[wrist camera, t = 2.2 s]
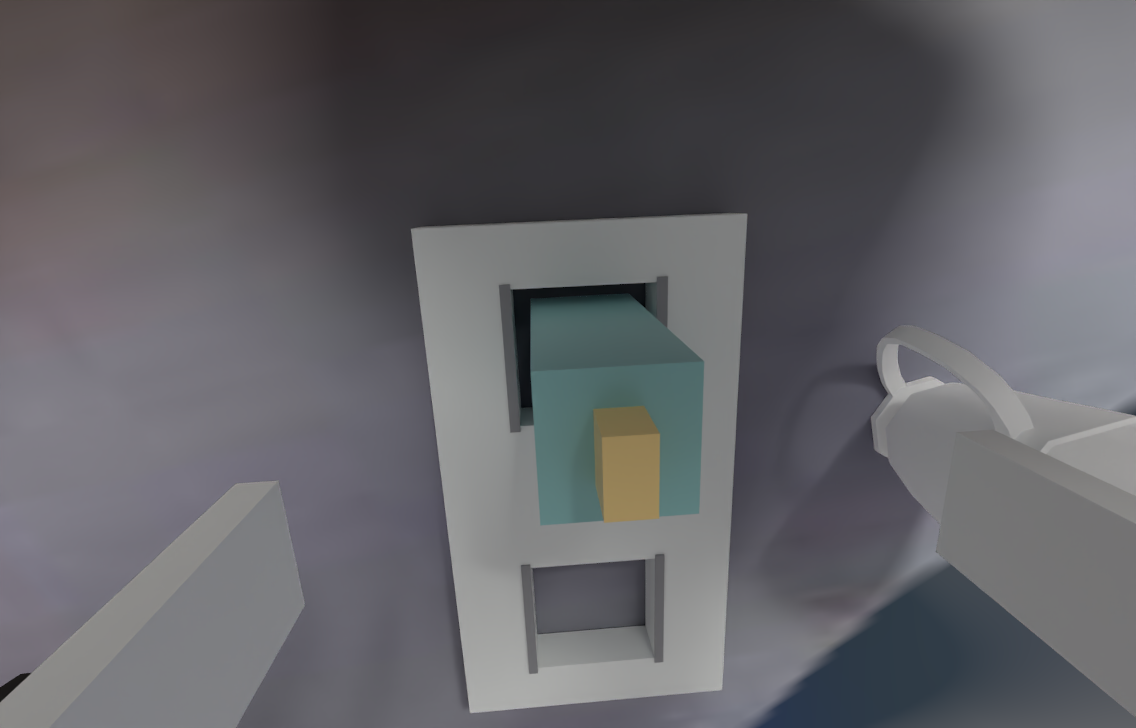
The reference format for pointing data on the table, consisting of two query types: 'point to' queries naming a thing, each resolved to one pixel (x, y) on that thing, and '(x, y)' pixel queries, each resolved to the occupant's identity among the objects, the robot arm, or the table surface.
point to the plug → (613, 412)
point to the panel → (508, 457)
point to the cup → (985, 420)
